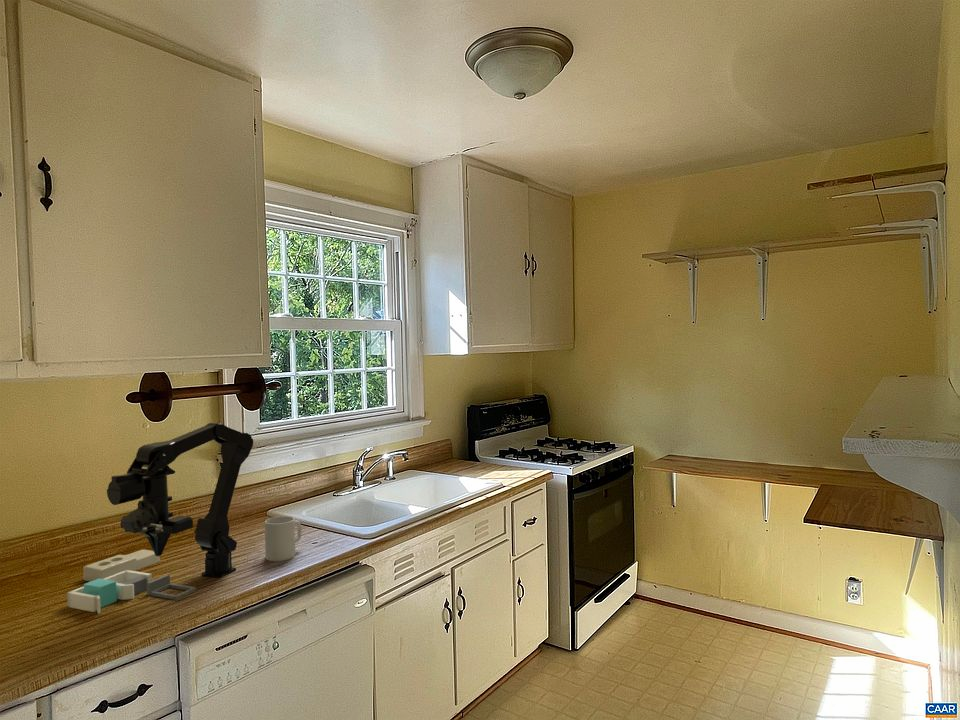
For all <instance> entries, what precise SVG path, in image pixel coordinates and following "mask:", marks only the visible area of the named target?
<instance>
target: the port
mask: <svg viewBox="0 0 960 720" xmlns="http://www.w3.org/2000/svg"><path fill="white" fill-rule="evenodd" d="M152 577H153V576H152V573H150V572H149V573H148V572H142V571H138V570H136V571H131V570H125V571H122V572H120V573H117V574H115V575H112V576H109V577H107V578H104V579H105V580H111V581H116V595H117V600H121V601H123V600H124V601H125V600H134V599H135V595H137V594H139V593H141V592H144V591H147V584H146V583H148V582H150V581H152V580H153V579H152ZM66 596H67V607H68V608H71V609H76V610H82V611H85V612H92V613H96V612H97V614H98V615H99V614H102V607H101V602H100V596H99V595H98V596H95V595H90V594H85V593H84V585H83V586H81V587H79V588H76V589H73V590H70V591H68V592H67V595H66Z"/></svg>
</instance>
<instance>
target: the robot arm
mask: <svg viewBox="0 0 960 720" xmlns="http://www.w3.org/2000/svg"><path fill="white" fill-rule="evenodd" d="M211 441H214V442H215V443H216V444H219V445H221V446H220V456H221V459H222V464H221V466H220V467H221V468H220V470H219V475H218V478H217V482H216V485H215V489H214V492H213V496H212V500H211V503H210V507H209V509H208V512H207V514H206V516H204V517H203V518H201V517H199V518H198V519H197V522H196V527H195V529H194V531H193V534H195V535H194V540H195V541H196V543H197V545H199V547H200V550H201V551H205V558H204V570H205V571H203V572H201V575H202V576H208V577H214V578H221V577H223V576H225V575H227V574H229V573H232V572H234V571H236V570H237V567H234V566H232V560H233V559H232V552H234V551H236V548H237V544H238V542H237V541H236V540H235V539H233V538H232V537H231V536H230V535H229V534H230V529H231V528H230V523H229V519H228V514H229V510H230V508H231V503H232V499H233V495H234V493H235V492H234V491H235V490H236V489H235V488H236V484H237V481H238V476H239V473H240V470H241V466H242V464H243V463H244V462H245V461H246V460H247V459H248V457H249V455H250V453H251V451H252V449H253V446H254V438H253V436H252V435H251V434H250V433H247V432H241V431H239V430H235V429H234V428H230V427H229V426H226V425H225V424H223V423H219V422H208V423H207V424H206V425H203V426H201V427H199V428H196V429H194V430H192V431H188V432H187V433H184V434H182V435H179V436H178V437H175V438H173V439H172V438H171V439H170V440H165V441H159V442H156V441H155V442H153V443H148V444H144V445H142V446H140V447H139V448H138V449H137V452H136V455H135V458H134V459H133V461H132V463H131V465H130V466H129V468H128V469H127V470H126V474H125V473H124V474H121V475H120V474H119V475H118V474H117V475H112V476H111V481H110V482H109V483H108V486H107V489H106V496H107V499H108V501H109V503H110V504H112V505H114V506H118V505H121V504H125V503H128V502H129V503H130V502H132V501H137V500H138V502H137V508H135V509H134V510H132V511H131V512H129V513H128V514H125V515H123V516H122V518H121V519H120V528H121V529H123V531H124V532H125V533H133V534H138V533H139V534H141V535H143V536H145V537H146V539H147V540H148V542H149V544H150V547H151V549H152V551H154V553H155V556H160V557H161V556H162V554H163V552H164V550H165V547H166V545H167V543H168V541H169V539H170V537H171V535H177V534H178V533H181V532H184V531H187V530H189V529H192V528H193V527H194V521H193V518H192V517H191V516H185V515H178V516H175V517H174V514H173V513H174V512H173V511H172V512H171V511H170V510H169V508H170V507H169V502H171V501H173V497H172V496H171V495H169V493H168V492H169V489H168V476H169V475H173V474H176V471H175V470H174V469H173V468H171V467H170V466H169V465H170V464H172V463H173V462H175V461H176V459H177V458H178V457H179V456H180V455H182V454H184V453H186V452H188V451H192V450H194V449H195V448H197V447H198V448H199V447H200V446H202V445H204V444H207V443H209V442H211ZM141 498H142V499H141ZM139 499H140V500H139Z"/></svg>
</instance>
